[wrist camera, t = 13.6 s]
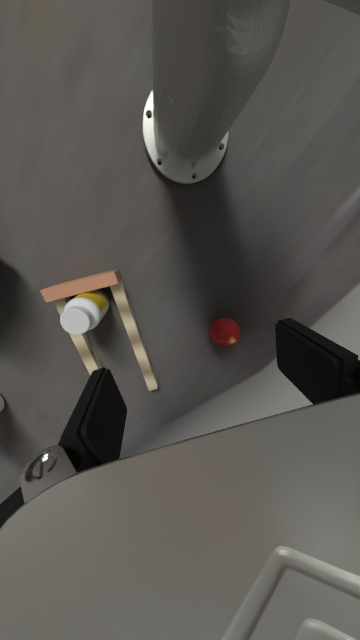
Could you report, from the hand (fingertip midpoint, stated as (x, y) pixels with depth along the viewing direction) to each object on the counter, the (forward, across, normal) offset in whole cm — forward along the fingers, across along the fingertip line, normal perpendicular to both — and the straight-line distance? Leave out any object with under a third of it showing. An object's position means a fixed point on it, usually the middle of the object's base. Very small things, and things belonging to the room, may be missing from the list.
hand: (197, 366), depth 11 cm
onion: (+28, -8, +12) cm, 32 cm away
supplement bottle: (+28, +14, +1) cm, 32 cm away
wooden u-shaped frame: (+28, +14, +9) cm, 33 cm away
